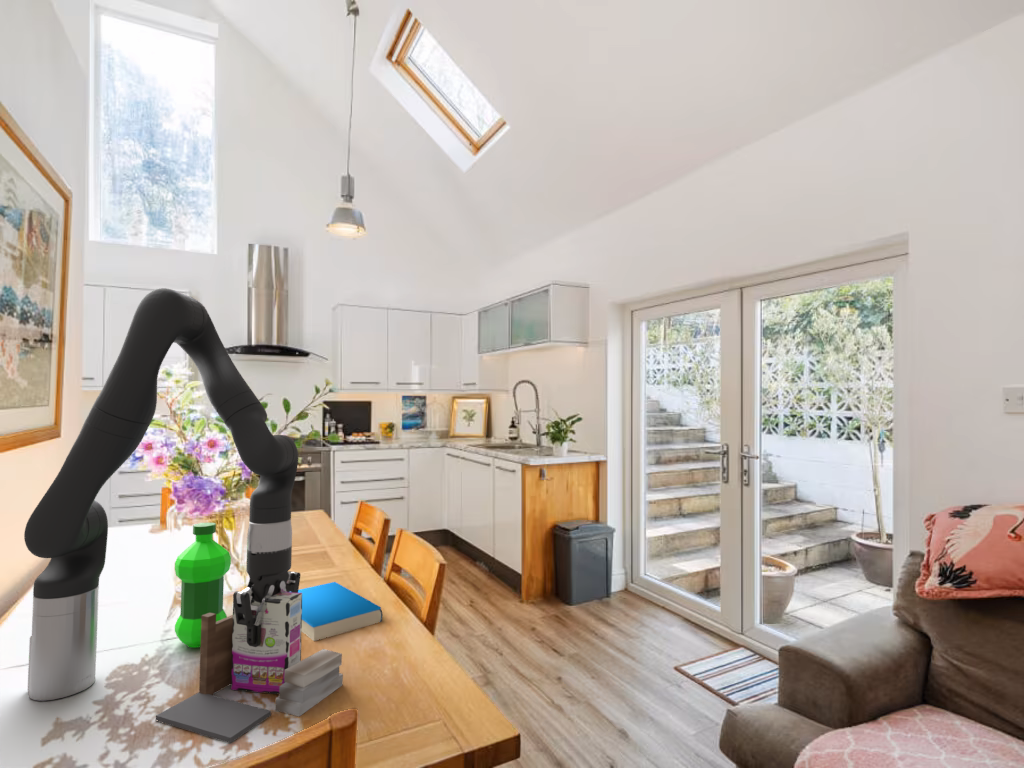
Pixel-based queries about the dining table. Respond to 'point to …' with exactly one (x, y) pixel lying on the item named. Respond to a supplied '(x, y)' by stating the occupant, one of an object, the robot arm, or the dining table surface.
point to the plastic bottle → (200, 583)
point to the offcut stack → (309, 682)
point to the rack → (215, 653)
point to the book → (335, 611)
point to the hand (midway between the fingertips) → (267, 638)
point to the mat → (214, 716)
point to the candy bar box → (268, 645)
